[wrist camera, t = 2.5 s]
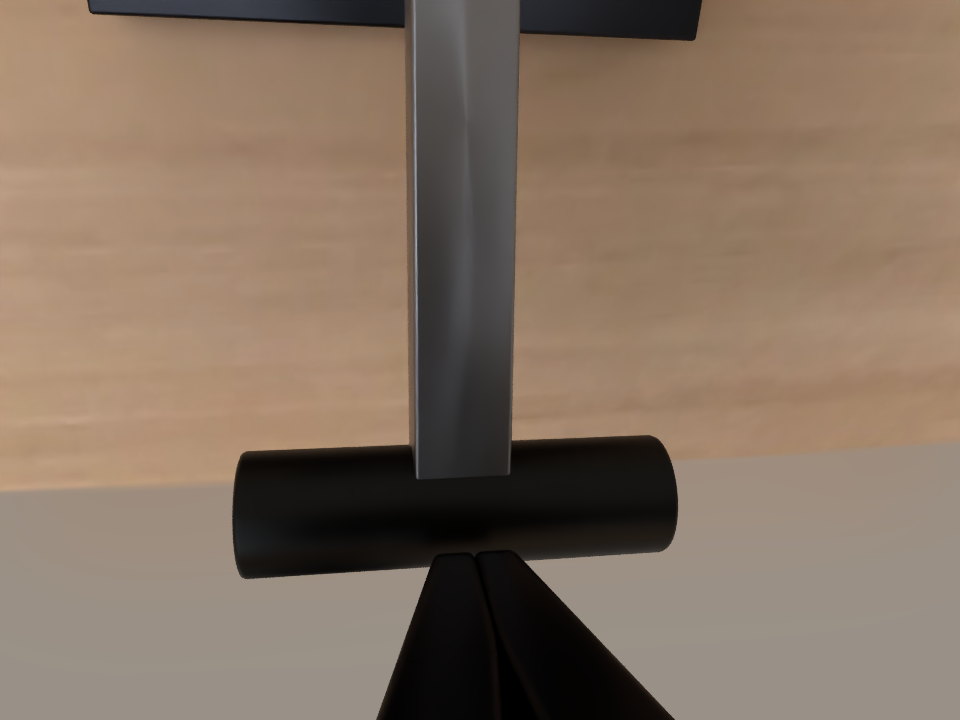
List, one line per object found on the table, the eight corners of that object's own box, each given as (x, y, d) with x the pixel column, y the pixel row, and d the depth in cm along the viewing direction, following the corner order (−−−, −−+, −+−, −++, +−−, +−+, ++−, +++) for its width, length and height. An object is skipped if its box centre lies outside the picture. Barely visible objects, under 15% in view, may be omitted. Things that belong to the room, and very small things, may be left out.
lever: (621, 507, 11) (693, 594, 8) (259, 528, 10) (228, 628, 8) (676, -537, 8) (802, -829, 6) (194, -619, 7) (117, -995, 5)
